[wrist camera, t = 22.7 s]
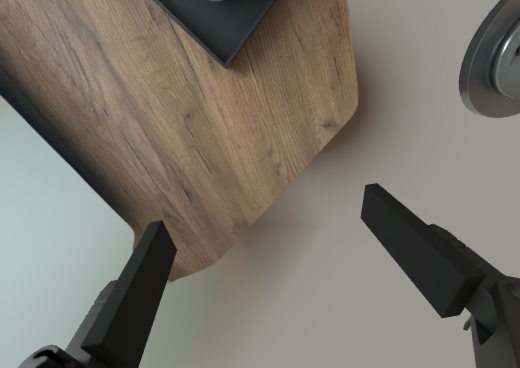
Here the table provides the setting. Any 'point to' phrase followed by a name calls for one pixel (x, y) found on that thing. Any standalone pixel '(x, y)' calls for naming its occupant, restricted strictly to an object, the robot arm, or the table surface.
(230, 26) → the tray
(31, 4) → the table surface
